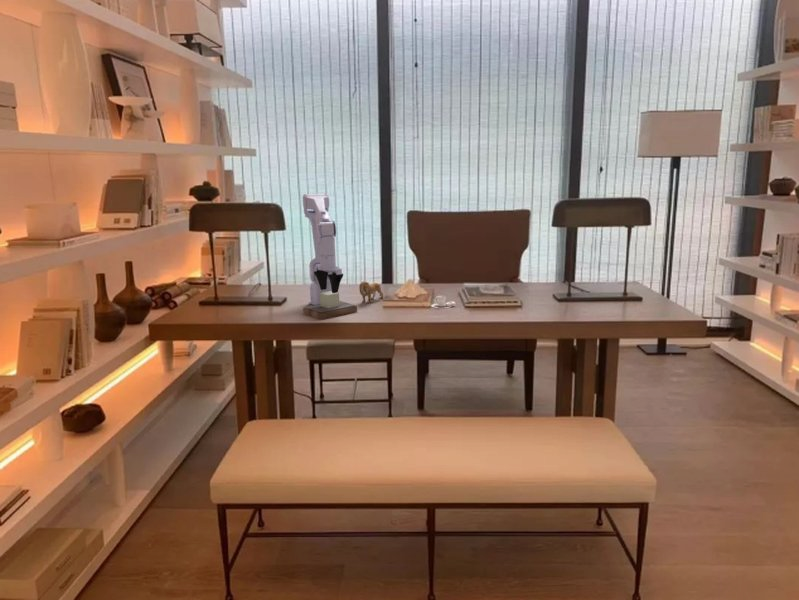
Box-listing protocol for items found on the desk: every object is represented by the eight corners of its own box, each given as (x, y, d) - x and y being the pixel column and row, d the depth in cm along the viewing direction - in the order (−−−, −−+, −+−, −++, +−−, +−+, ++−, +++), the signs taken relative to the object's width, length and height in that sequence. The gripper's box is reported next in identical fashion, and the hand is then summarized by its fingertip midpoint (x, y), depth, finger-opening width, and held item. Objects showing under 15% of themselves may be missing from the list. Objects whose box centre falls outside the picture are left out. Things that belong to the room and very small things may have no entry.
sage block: (320, 306, 235) (320, 293, 234) (331, 303, 238) (331, 290, 237) (328, 308, 231) (327, 295, 230) (339, 306, 234) (338, 292, 233)
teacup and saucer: (457, 306, 243) (457, 295, 242) (447, 310, 236) (447, 300, 235) (438, 303, 247) (438, 293, 246) (427, 307, 241) (427, 297, 240)
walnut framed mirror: (303, 313, 235) (302, 307, 234) (338, 306, 245) (338, 300, 244) (321, 319, 226) (320, 312, 225) (357, 311, 236) (356, 305, 235)
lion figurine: (368, 305, 245) (367, 282, 243) (356, 304, 247) (355, 281, 245) (386, 297, 258) (385, 276, 256) (374, 296, 260) (374, 275, 258)
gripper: (307, 253, 233) (309, 289, 236) (329, 258, 222) (331, 296, 225) (323, 251, 237) (325, 286, 241) (345, 256, 227) (347, 292, 230)
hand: (329, 291), depth 233 cm, fingers open, 7 cm apart
